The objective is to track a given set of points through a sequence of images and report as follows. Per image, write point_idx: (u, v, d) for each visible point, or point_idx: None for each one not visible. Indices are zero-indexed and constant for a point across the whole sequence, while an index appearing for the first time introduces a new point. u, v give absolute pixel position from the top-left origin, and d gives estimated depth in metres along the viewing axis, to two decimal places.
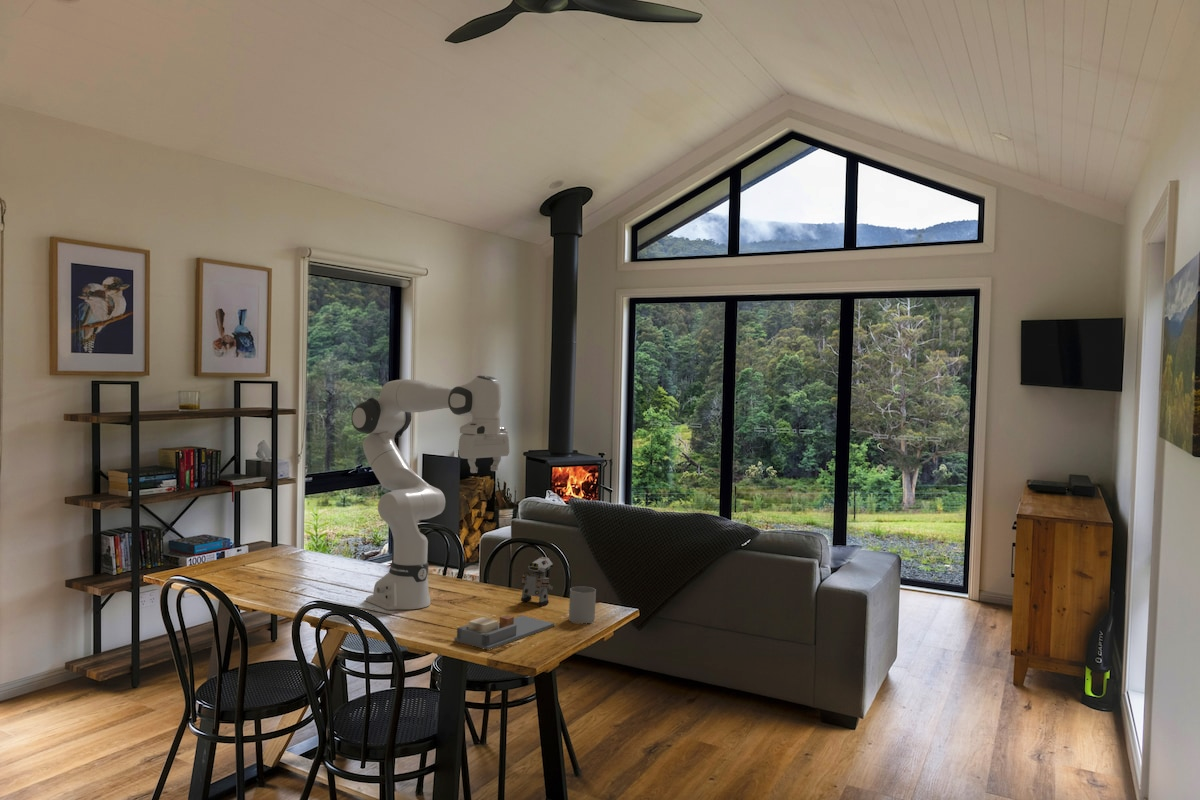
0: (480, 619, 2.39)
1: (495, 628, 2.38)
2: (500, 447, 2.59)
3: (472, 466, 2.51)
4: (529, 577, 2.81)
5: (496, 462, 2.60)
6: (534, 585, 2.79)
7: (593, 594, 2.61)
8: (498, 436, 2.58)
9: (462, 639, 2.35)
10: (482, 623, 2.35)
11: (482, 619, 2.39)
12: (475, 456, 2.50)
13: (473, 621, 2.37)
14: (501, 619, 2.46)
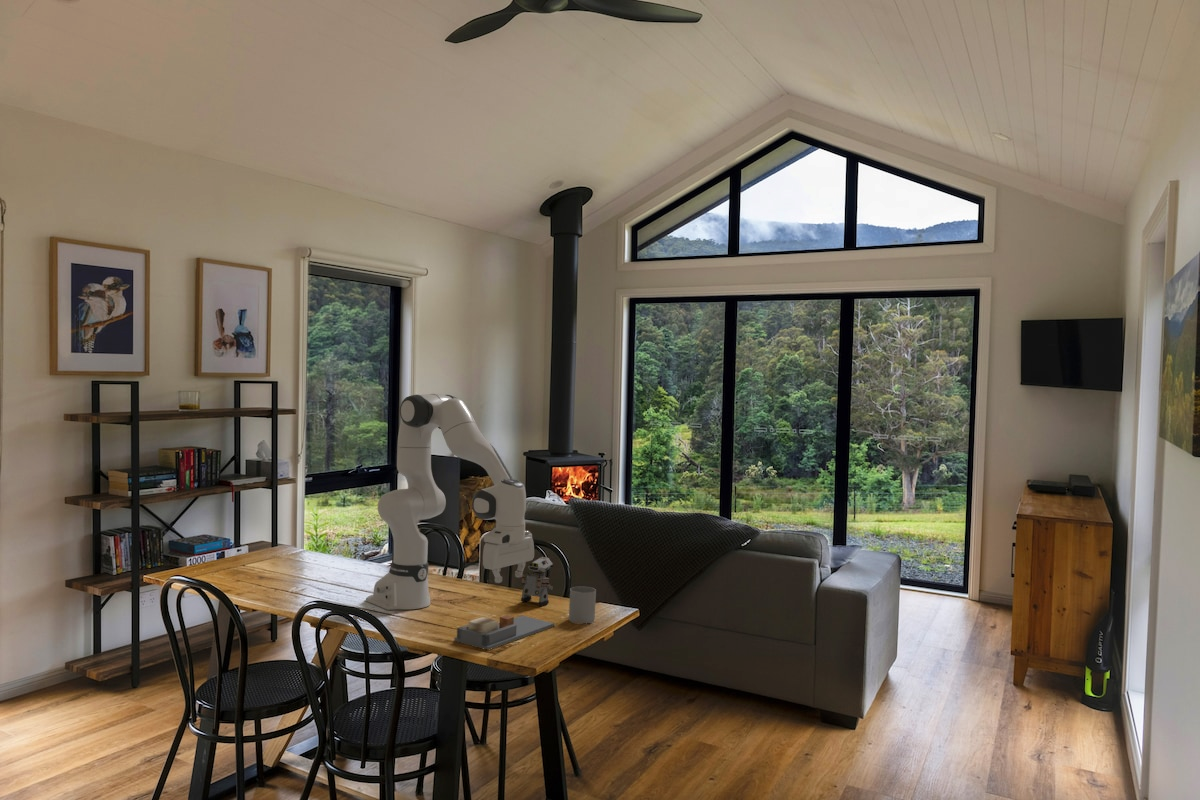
0: (480, 619, 2.39)
1: (495, 628, 2.38)
2: (525, 552, 2.49)
3: (497, 576, 2.41)
4: (529, 577, 2.81)
5: (521, 568, 2.50)
6: (534, 585, 2.79)
7: (593, 594, 2.61)
8: (523, 541, 2.49)
9: (462, 639, 2.35)
10: (482, 623, 2.35)
11: (482, 619, 2.39)
12: (500, 566, 2.40)
13: (473, 621, 2.37)
14: (501, 619, 2.46)
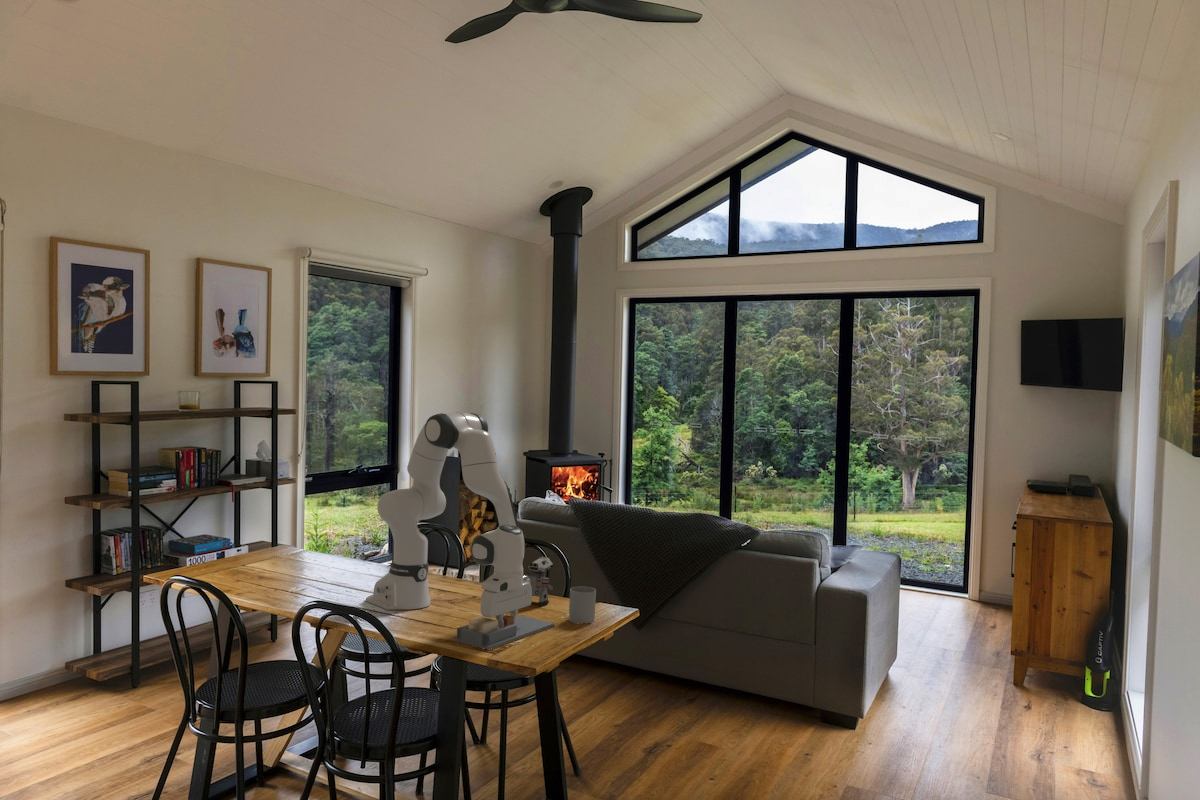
0: (480, 619, 2.39)
1: (495, 628, 2.38)
2: (523, 598, 2.50)
3: (500, 621, 2.44)
4: (529, 577, 2.81)
5: (513, 615, 2.48)
6: (534, 585, 2.79)
7: (593, 594, 2.61)
8: (521, 587, 2.49)
9: (462, 639, 2.35)
10: (482, 623, 2.35)
11: (482, 619, 2.39)
12: (498, 613, 2.40)
13: (473, 621, 2.37)
14: None
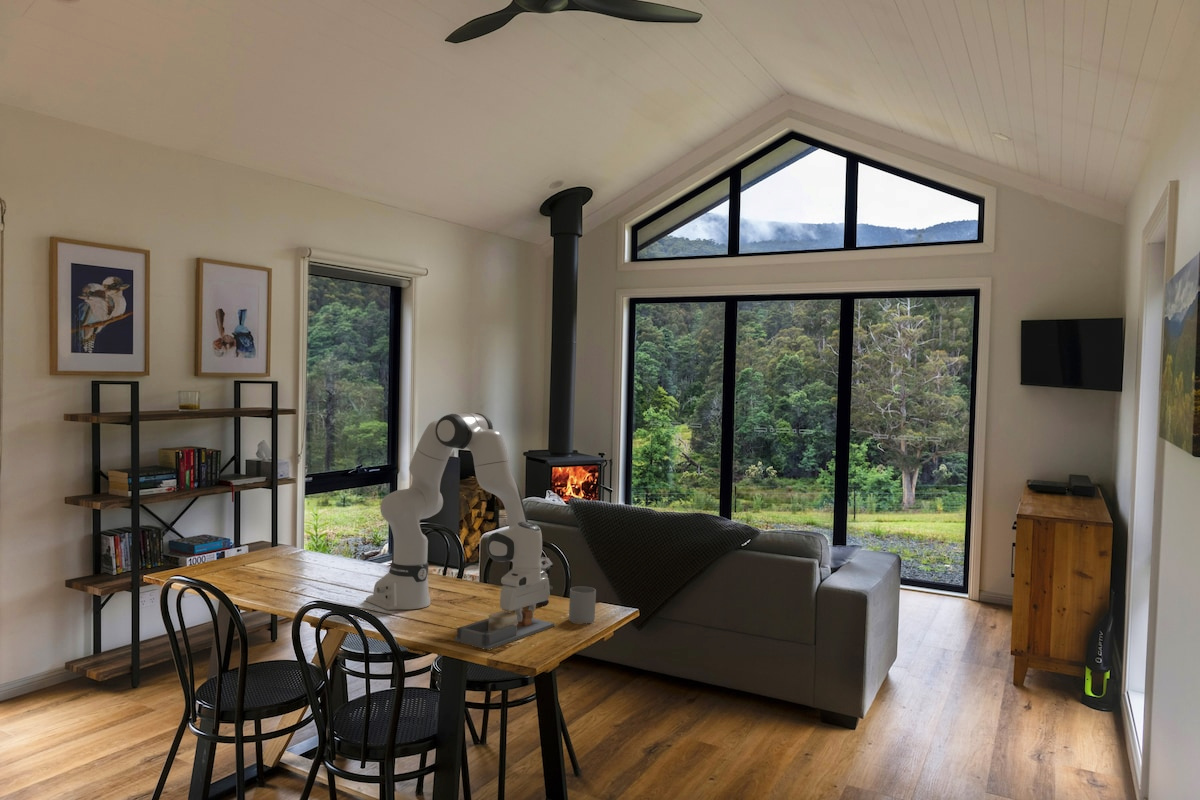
0: (500, 613, 2.46)
1: (514, 622, 2.45)
2: (541, 592, 2.57)
3: (519, 615, 2.51)
4: None
5: (531, 609, 2.56)
6: None
7: (593, 594, 2.61)
8: (539, 582, 2.56)
9: (462, 639, 2.35)
10: (502, 617, 2.43)
11: (501, 613, 2.46)
12: (517, 607, 2.47)
13: (493, 615, 2.44)
14: None
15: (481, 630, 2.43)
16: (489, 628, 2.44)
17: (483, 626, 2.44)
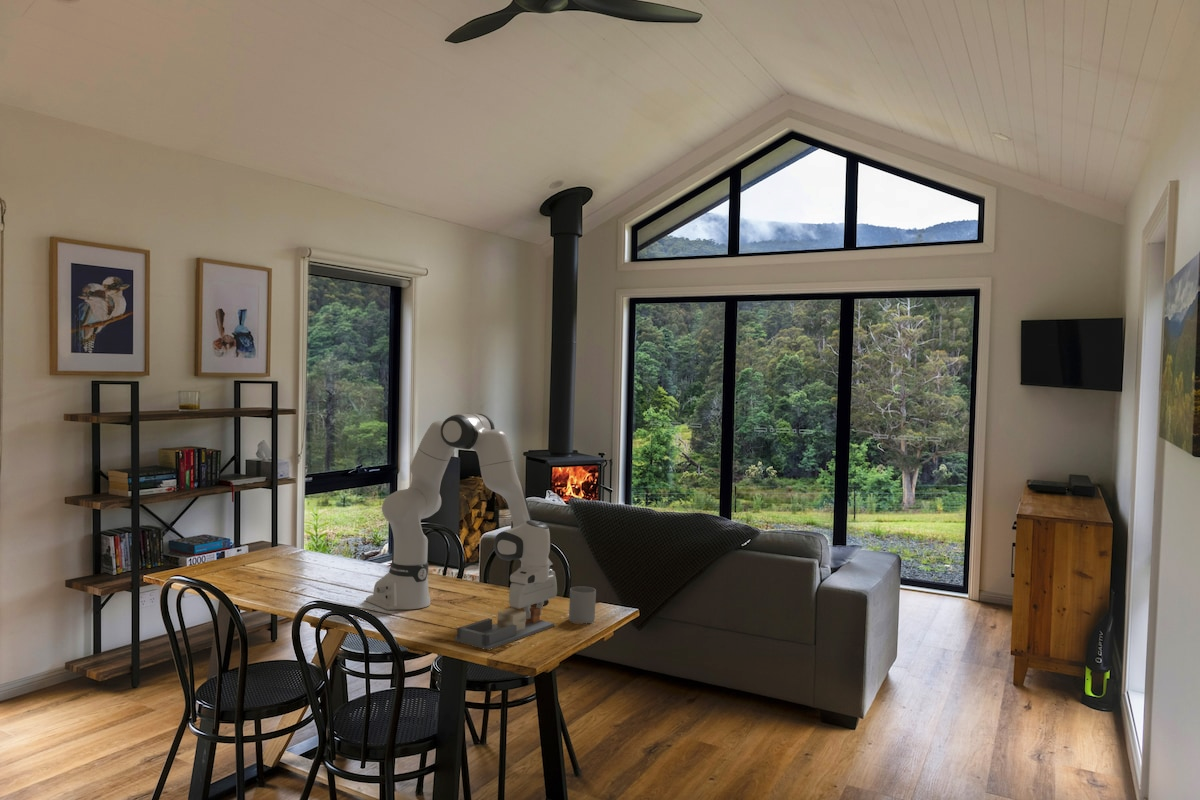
0: (508, 610, 2.50)
1: (523, 619, 2.48)
2: (548, 590, 2.60)
3: (527, 612, 2.54)
4: None
5: (539, 606, 2.59)
6: None
7: (593, 594, 2.61)
8: (547, 580, 2.59)
9: (462, 639, 2.35)
10: (511, 614, 2.46)
11: (510, 610, 2.50)
12: (525, 605, 2.51)
13: (502, 612, 2.48)
14: None
15: (481, 630, 2.43)
16: (498, 625, 2.47)
17: (483, 626, 2.44)
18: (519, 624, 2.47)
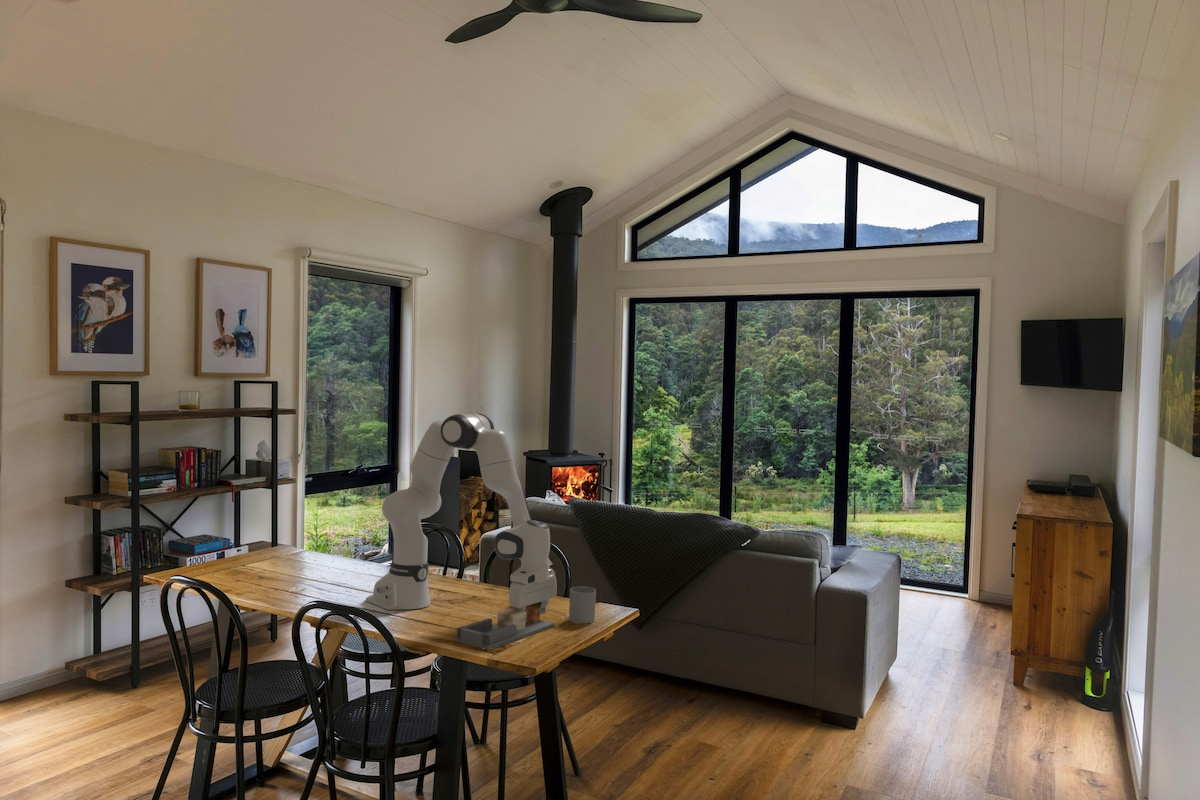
0: (508, 610, 2.50)
1: (523, 619, 2.48)
2: (548, 590, 2.61)
3: None
4: None
5: (544, 604, 2.61)
6: None
7: (593, 594, 2.61)
8: (547, 580, 2.60)
9: (462, 639, 2.35)
10: (511, 614, 2.46)
11: (510, 610, 2.50)
12: (525, 604, 2.51)
13: (502, 612, 2.48)
14: (528, 610, 2.56)
15: (481, 630, 2.43)
16: (498, 625, 2.47)
17: (483, 626, 2.44)
18: (519, 624, 2.47)
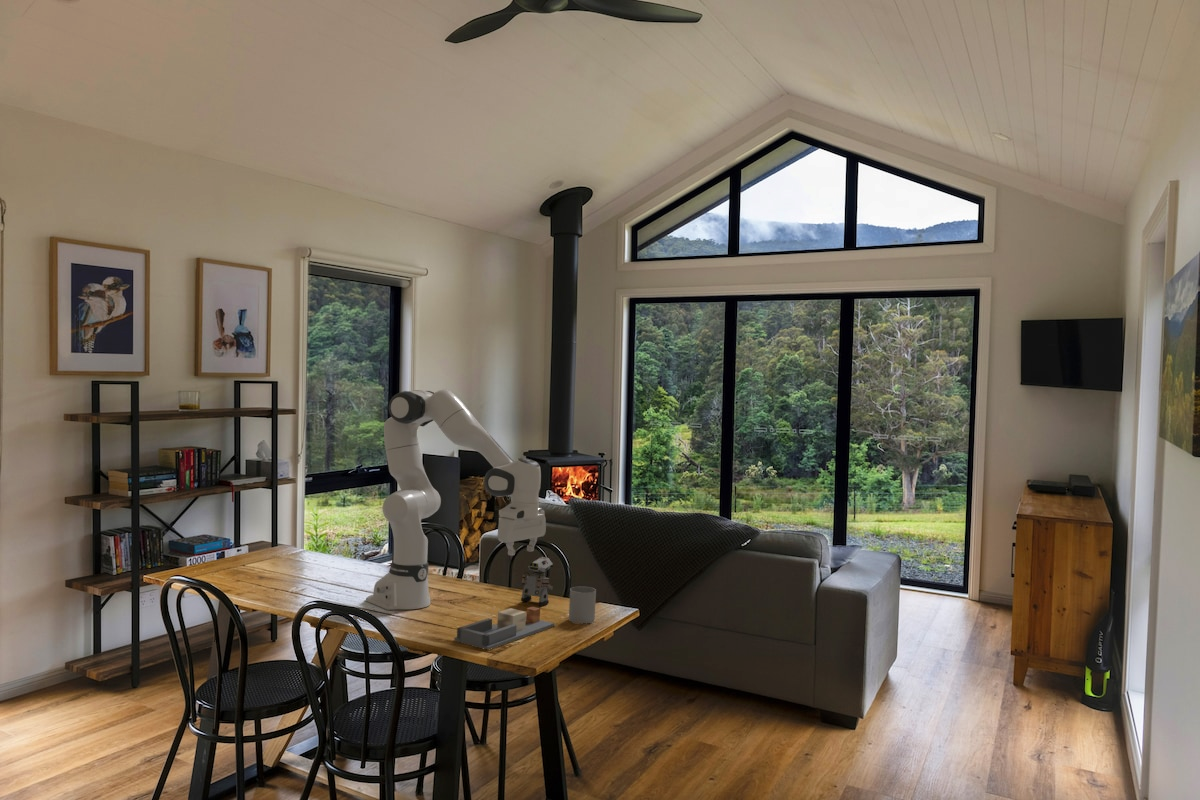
0: (508, 610, 2.50)
1: (523, 619, 2.48)
2: (537, 528, 2.63)
3: (510, 549, 2.55)
4: (529, 577, 2.81)
5: (532, 542, 2.64)
6: (534, 585, 2.79)
7: (593, 594, 2.61)
8: (536, 518, 2.62)
9: (462, 639, 2.35)
10: (511, 614, 2.46)
11: (510, 610, 2.50)
12: (513, 540, 2.54)
13: (502, 612, 2.48)
14: (528, 610, 2.56)
15: (481, 630, 2.43)
16: (498, 625, 2.47)
17: (483, 626, 2.44)
18: (519, 624, 2.47)
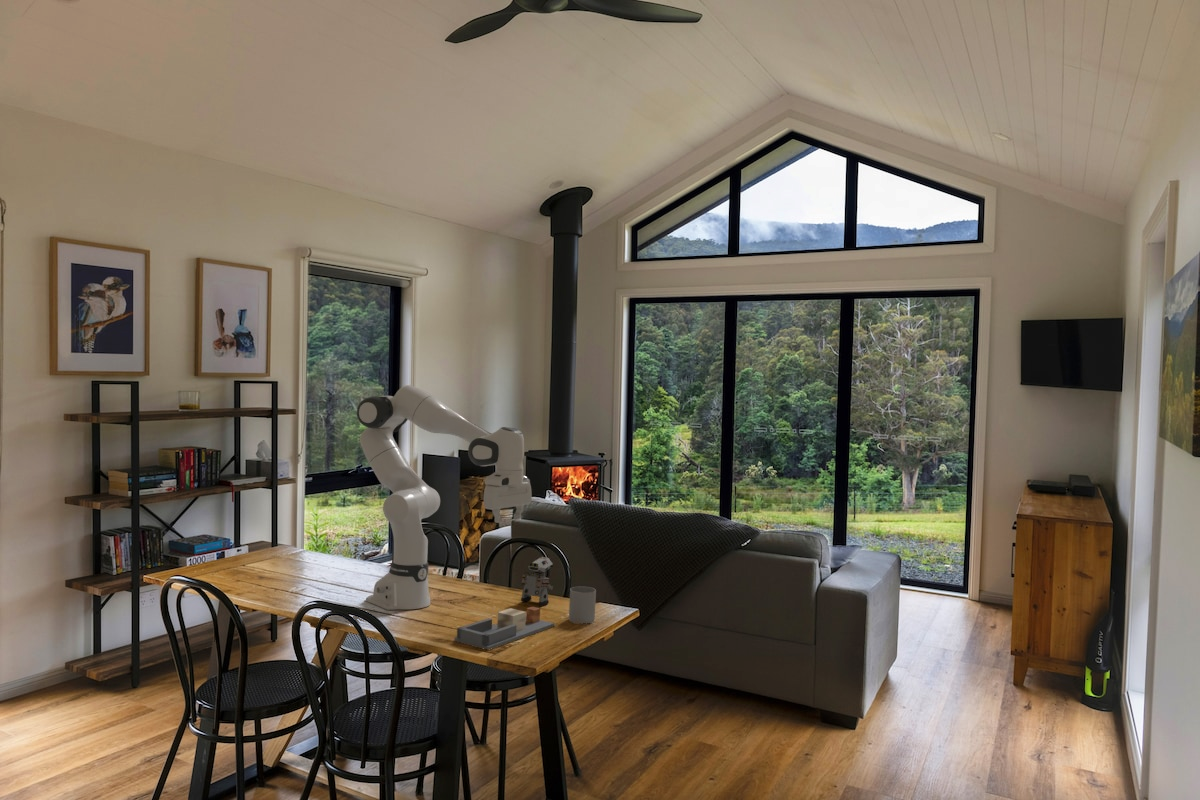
0: (508, 610, 2.50)
1: (523, 619, 2.48)
2: (523, 496, 2.67)
3: (496, 516, 2.58)
4: (529, 577, 2.81)
5: (519, 510, 2.68)
6: (534, 585, 2.79)
7: (593, 594, 2.61)
8: (521, 486, 2.66)
9: (462, 639, 2.35)
10: (511, 614, 2.46)
11: (510, 610, 2.50)
12: (499, 507, 2.57)
13: (502, 612, 2.48)
14: (528, 610, 2.56)
15: (481, 630, 2.43)
16: (498, 625, 2.47)
17: (483, 626, 2.44)
18: (519, 624, 2.47)
